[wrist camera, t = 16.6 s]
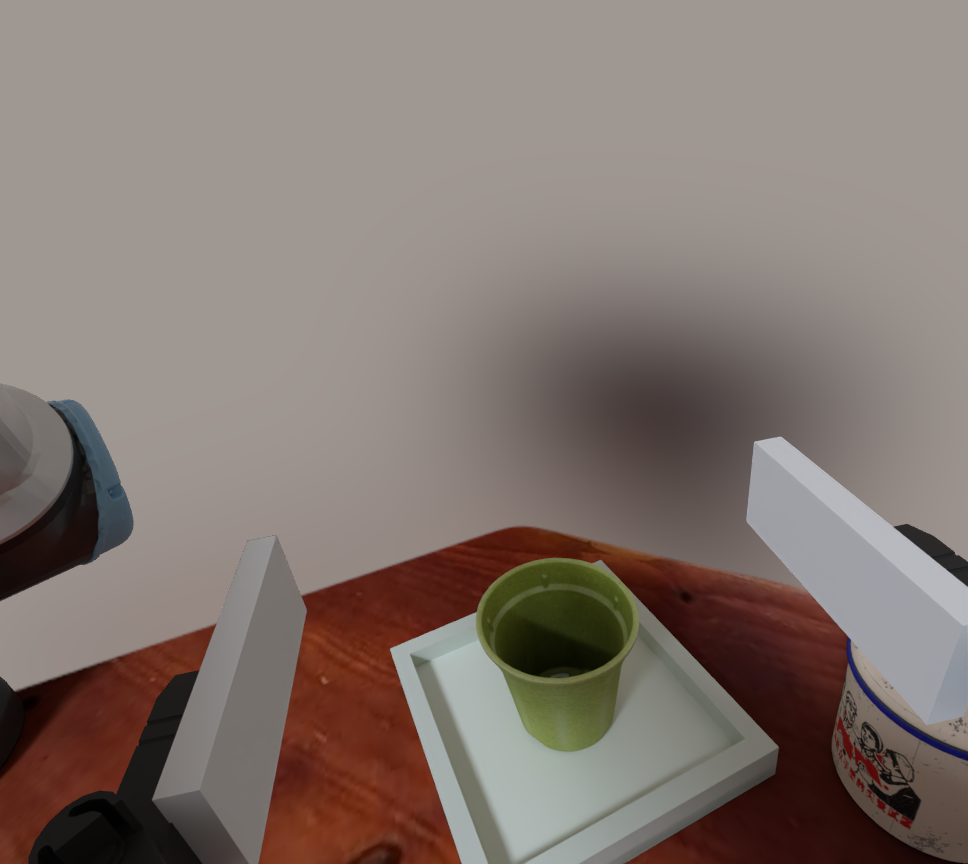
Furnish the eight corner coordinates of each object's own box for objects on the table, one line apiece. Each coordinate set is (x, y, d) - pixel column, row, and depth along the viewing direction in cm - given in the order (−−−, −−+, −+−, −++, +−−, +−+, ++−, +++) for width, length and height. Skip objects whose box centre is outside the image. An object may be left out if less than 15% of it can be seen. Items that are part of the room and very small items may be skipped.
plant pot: (617, 639, 41) (612, 546, 37) (664, 766, 33) (663, 664, 29) (490, 661, 41) (470, 570, 37) (504, 794, 33) (482, 696, 29)
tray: (397, 671, 43) (389, 648, 42) (602, 582, 48) (600, 559, 47) (488, 944, 28) (481, 920, 27) (775, 773, 33) (778, 747, 32)
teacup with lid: (797, 710, 36) (820, 569, 30) (950, 698, 35) (1002, 551, 30) (923, 955, 25) (993, 807, 20) (1146, 945, 25) (1283, 788, 19)
